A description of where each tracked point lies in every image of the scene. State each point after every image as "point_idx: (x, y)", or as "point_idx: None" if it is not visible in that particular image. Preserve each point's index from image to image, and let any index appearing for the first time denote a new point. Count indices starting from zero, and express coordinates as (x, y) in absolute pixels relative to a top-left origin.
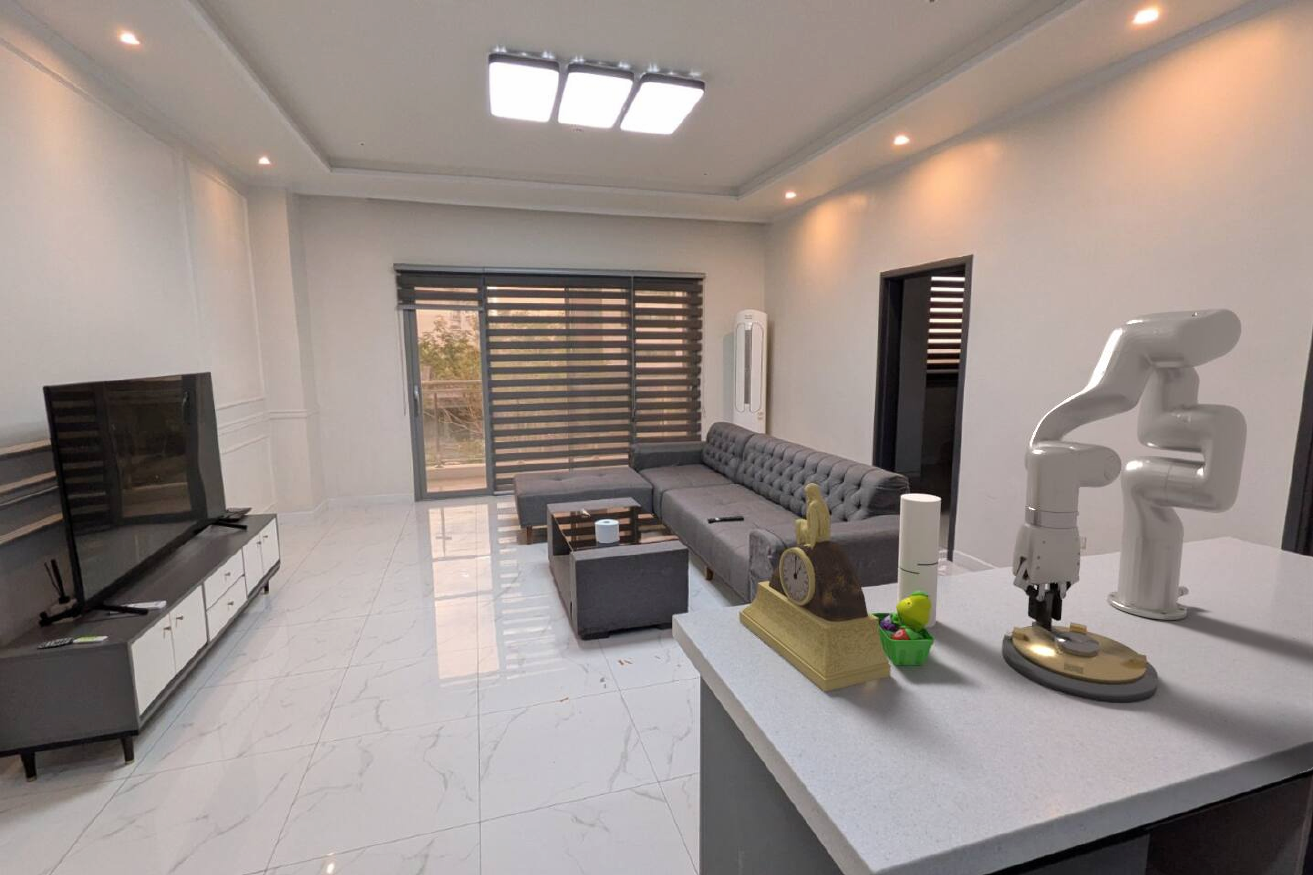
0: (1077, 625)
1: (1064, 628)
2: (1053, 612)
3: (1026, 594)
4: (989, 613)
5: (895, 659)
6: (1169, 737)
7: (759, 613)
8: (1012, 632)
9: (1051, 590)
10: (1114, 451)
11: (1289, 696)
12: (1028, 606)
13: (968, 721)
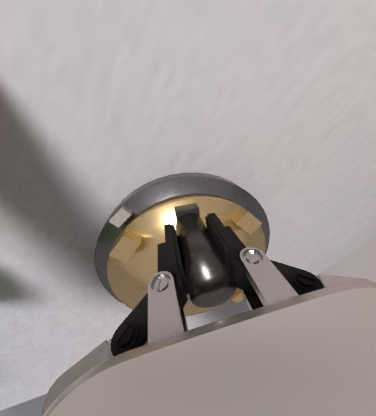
0: (247, 223)
1: (229, 210)
2: None
3: (151, 280)
4: (167, 3)
5: None
6: None
7: None
8: (138, 196)
9: (244, 274)
10: None
11: (316, 271)
12: (165, 238)
13: (15, 345)
